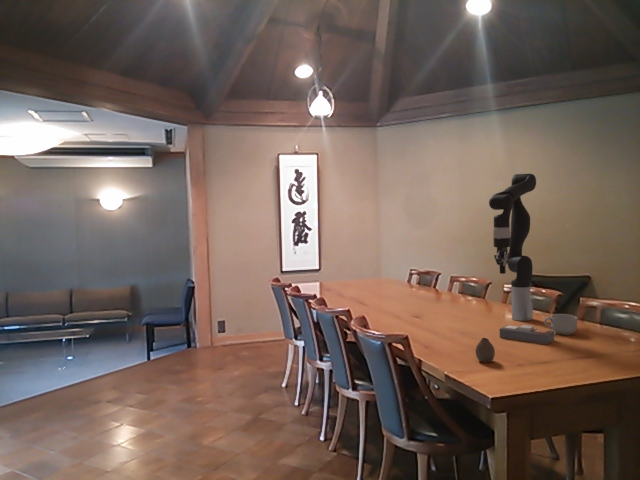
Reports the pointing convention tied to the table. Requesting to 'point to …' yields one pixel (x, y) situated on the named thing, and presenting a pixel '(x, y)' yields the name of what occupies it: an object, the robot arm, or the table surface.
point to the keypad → (527, 336)
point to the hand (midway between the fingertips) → (502, 273)
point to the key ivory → (511, 327)
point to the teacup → (562, 323)
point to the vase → (485, 351)
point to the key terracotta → (541, 331)
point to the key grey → (526, 328)
